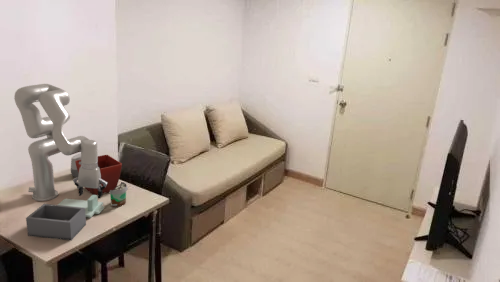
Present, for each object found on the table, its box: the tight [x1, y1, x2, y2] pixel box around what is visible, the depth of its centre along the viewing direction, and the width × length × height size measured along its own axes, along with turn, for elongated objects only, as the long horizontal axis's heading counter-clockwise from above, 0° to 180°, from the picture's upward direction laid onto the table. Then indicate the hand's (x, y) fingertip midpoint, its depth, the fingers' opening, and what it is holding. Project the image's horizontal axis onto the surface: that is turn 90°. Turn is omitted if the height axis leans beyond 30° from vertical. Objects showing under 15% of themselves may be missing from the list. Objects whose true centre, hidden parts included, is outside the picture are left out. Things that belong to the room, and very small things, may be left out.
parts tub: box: [25, 203, 87, 241], centre depth 182 cm, size 20×14×9 cm
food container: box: [109, 181, 129, 208], centre depth 210 cm, size 12×6×10 cm, turn 168°
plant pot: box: [75, 154, 123, 196], centre depth 223 cm, size 19×19×17 cm
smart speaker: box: [70, 152, 81, 178], centre depth 240 cm, size 10×9×14 cm
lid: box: [57, 194, 105, 218], centre depth 201 cm, size 23×15×8 cm, turn 86°
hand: (90, 196), depth 199 cm, fingers open, 9 cm apart
